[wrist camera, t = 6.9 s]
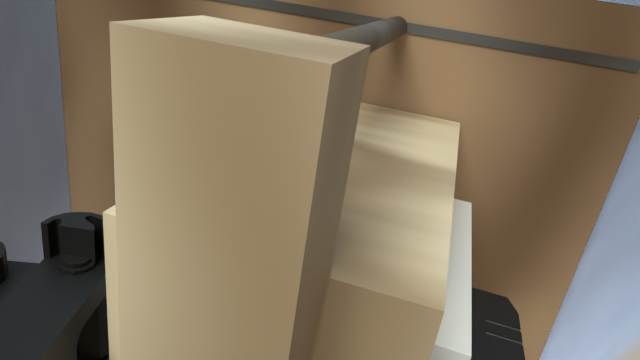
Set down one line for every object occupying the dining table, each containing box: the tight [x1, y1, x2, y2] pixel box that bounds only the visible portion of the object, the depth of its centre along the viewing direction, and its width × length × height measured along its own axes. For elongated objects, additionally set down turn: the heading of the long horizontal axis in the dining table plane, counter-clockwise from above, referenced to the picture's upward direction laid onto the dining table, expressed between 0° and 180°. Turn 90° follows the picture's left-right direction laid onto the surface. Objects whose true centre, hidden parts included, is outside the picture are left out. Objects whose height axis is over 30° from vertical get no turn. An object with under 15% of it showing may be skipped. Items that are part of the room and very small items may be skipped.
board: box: [55, 0, 640, 360], centre depth 18 cm, size 20×14×2 cm
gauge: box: [103, 15, 460, 360], centre depth 13 cm, size 5×14×13 cm, turn 171°
